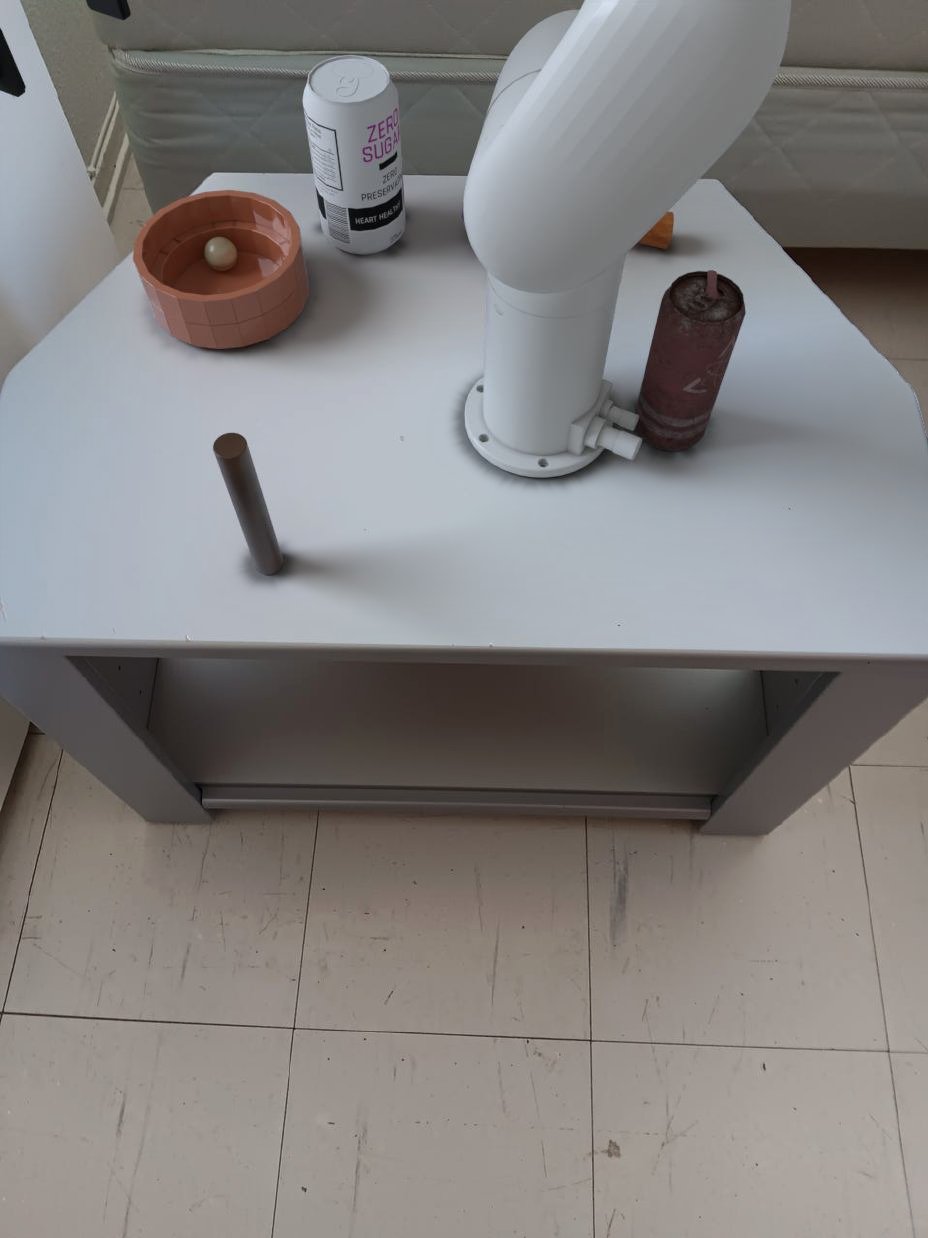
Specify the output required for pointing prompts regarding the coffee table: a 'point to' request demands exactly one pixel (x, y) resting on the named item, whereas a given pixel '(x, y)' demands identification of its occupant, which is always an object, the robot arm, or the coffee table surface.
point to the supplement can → (356, 152)
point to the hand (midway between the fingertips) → (59, 49)
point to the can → (688, 358)
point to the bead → (220, 253)
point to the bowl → (223, 300)
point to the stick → (248, 501)
